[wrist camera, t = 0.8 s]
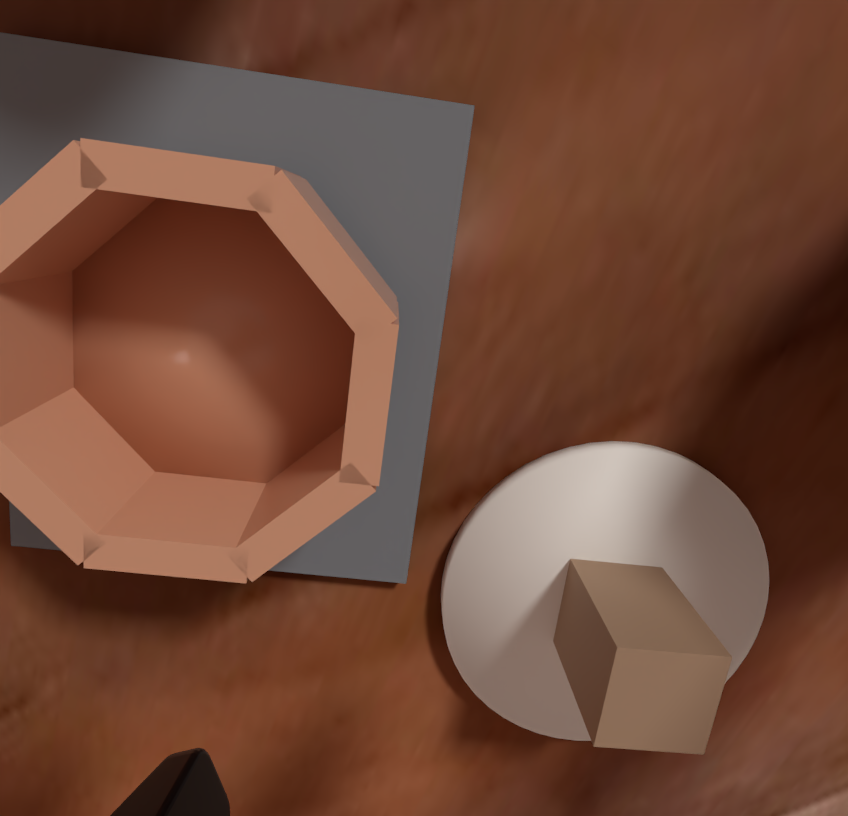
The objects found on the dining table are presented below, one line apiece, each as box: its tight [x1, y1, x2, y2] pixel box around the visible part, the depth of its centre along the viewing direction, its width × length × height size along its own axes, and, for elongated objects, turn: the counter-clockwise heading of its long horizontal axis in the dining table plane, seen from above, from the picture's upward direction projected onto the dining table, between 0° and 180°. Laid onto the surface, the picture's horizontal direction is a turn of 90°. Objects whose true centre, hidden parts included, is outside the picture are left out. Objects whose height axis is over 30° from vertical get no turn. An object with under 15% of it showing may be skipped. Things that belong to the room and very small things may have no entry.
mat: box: [0, 32, 474, 584], centre depth 19 cm, size 12×14×1 cm
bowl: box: [0, 138, 399, 583], centre depth 16 cm, size 9×9×5 cm
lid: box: [441, 441, 769, 755], centre depth 20 cm, size 11×11×6 cm
